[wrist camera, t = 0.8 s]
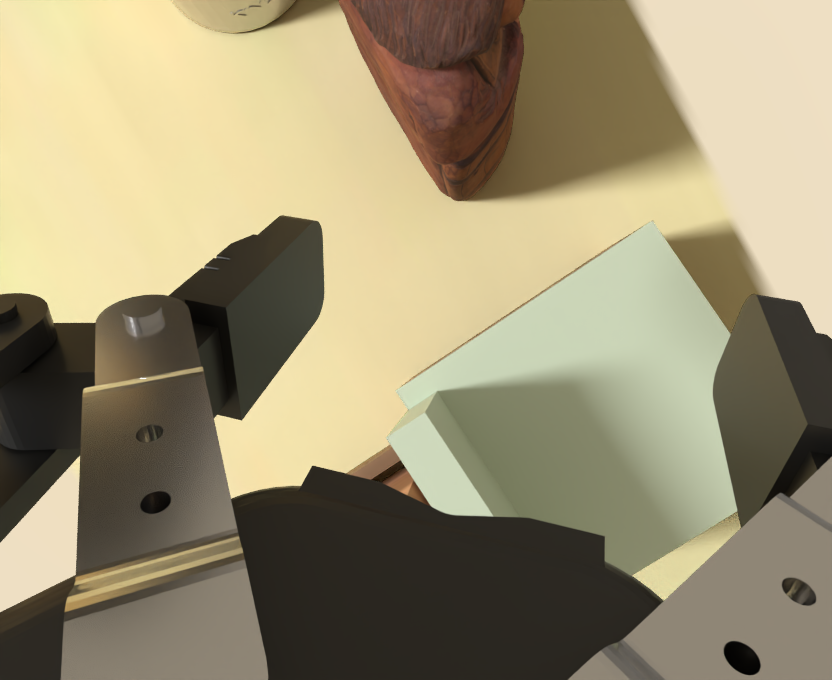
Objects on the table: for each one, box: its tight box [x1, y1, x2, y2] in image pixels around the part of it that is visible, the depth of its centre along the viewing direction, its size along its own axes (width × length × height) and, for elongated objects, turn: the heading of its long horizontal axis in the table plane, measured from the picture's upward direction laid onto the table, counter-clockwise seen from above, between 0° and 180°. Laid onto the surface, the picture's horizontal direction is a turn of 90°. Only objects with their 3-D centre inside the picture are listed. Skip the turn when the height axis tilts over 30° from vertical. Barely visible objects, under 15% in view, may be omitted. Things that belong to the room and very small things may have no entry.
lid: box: [386, 221, 737, 576], centre depth 23 cm, size 12×13×8 cm
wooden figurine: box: [338, 0, 525, 201], centre depth 26 cm, size 12×6×18 cm, turn 28°
